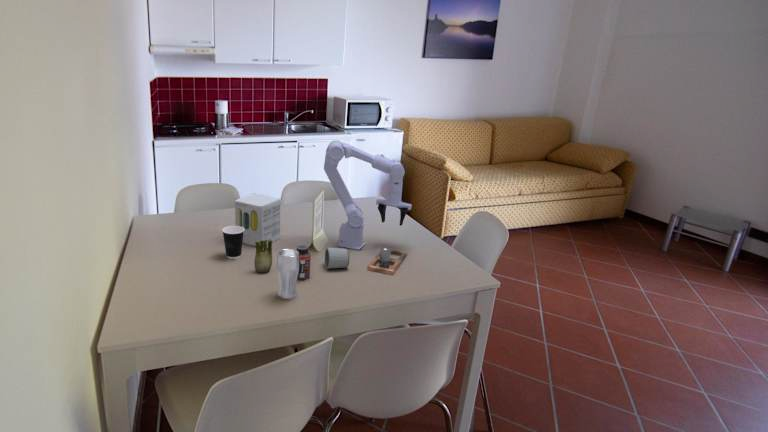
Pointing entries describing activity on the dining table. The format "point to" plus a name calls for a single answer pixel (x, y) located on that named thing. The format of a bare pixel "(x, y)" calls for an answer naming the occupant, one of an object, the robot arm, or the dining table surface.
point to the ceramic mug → (336, 258)
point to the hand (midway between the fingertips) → (392, 223)
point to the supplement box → (258, 218)
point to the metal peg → (384, 257)
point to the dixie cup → (233, 241)
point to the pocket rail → (394, 262)
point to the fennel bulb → (263, 256)
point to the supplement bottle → (304, 262)
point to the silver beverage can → (287, 272)
